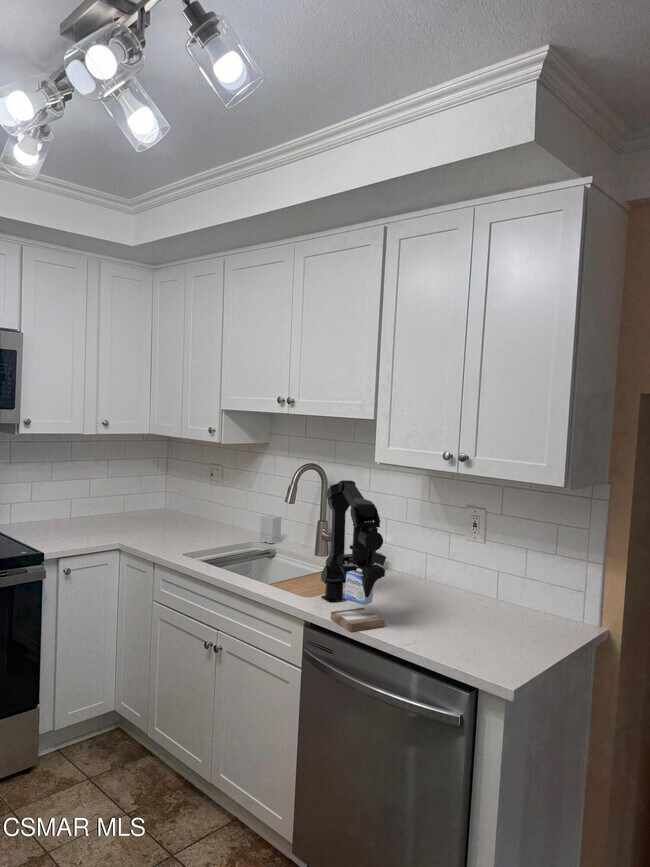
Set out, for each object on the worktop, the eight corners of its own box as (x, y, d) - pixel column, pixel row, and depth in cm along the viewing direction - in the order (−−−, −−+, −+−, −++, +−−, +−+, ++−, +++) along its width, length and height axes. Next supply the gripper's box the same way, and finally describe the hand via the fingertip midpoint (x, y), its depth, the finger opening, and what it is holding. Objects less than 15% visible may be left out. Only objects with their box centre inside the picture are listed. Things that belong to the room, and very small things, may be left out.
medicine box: (343, 599, 198) (345, 571, 198) (352, 596, 202) (354, 569, 201) (364, 605, 193) (366, 577, 193) (372, 602, 197) (374, 575, 196)
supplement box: (280, 542, 308) (282, 516, 308) (271, 544, 302) (272, 518, 301) (268, 540, 312) (269, 514, 311) (259, 542, 306) (260, 516, 305)
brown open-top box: (330, 619, 200) (331, 610, 199) (362, 615, 206) (362, 606, 206) (351, 632, 189) (351, 623, 189) (383, 627, 195) (384, 618, 195)
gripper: (400, 548, 193) (397, 598, 193) (366, 535, 209) (363, 582, 209) (370, 550, 187) (367, 602, 188) (337, 537, 203) (334, 585, 204)
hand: (358, 592), depth 197 cm, fingers closed on medicine box, 9 cm apart
